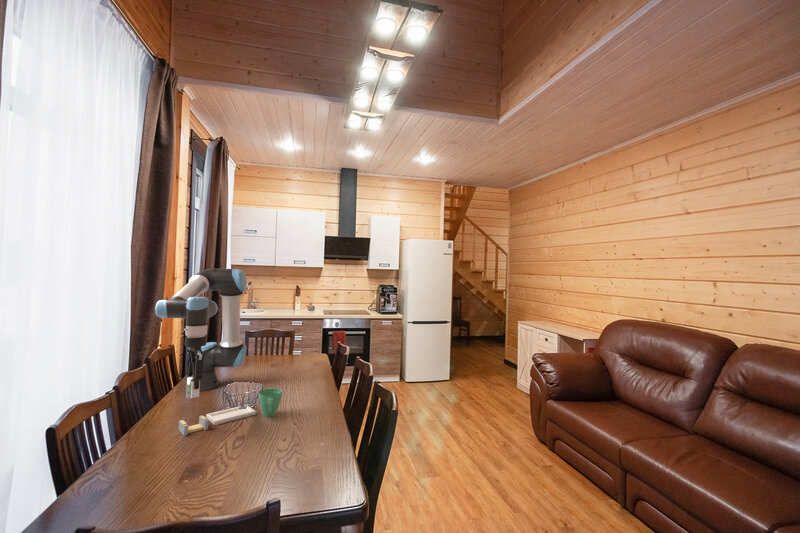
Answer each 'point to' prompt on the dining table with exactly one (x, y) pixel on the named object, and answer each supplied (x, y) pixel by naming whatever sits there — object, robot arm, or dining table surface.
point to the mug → (270, 401)
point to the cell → (189, 387)
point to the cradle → (185, 429)
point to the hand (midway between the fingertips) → (192, 395)
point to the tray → (229, 415)
